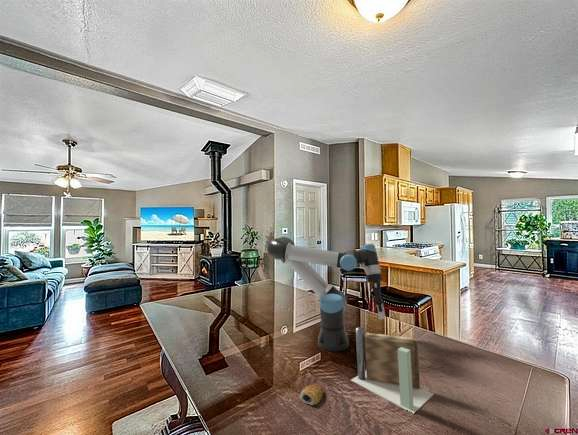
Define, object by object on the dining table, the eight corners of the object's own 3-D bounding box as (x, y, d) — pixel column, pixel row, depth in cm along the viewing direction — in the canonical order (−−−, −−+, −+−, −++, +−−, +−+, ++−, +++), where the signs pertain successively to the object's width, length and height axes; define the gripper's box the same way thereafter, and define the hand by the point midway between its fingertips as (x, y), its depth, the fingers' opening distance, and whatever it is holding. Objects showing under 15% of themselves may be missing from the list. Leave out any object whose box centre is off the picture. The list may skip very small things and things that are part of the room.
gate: (366, 378, 99) (364, 334, 100) (367, 376, 101) (365, 332, 101) (420, 388, 92) (417, 340, 93) (419, 386, 94) (417, 338, 94)
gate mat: (350, 380, 100) (350, 379, 100) (372, 367, 109) (372, 366, 109) (413, 414, 81) (413, 413, 81) (433, 394, 90) (433, 393, 90)
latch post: (400, 406, 85) (397, 349, 86) (404, 402, 86) (401, 347, 87) (409, 410, 83) (406, 352, 83) (413, 407, 84) (410, 350, 85)
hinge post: (356, 378, 101) (354, 328, 102) (360, 375, 103) (358, 326, 103) (362, 381, 99) (360, 330, 100) (367, 378, 101) (364, 328, 101)
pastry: (311, 387, 97) (311, 376, 97) (328, 393, 94) (328, 382, 94) (298, 401, 90) (297, 390, 90) (315, 409, 86) (315, 397, 86)
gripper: (380, 271, 124) (391, 319, 118) (381, 274, 147) (390, 314, 140) (364, 273, 126) (373, 321, 120) (367, 276, 149) (375, 315, 143)
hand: (382, 317), depth 130 cm, fingers open, 13 cm apart
